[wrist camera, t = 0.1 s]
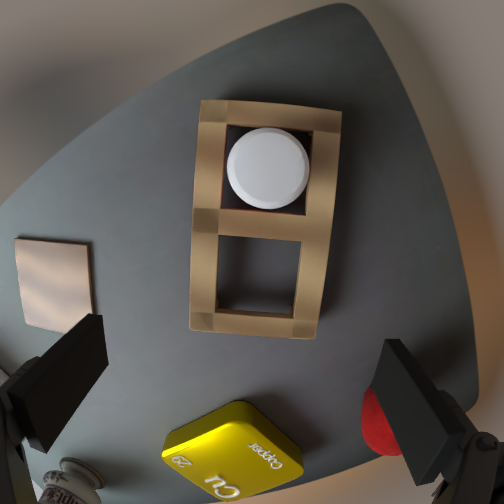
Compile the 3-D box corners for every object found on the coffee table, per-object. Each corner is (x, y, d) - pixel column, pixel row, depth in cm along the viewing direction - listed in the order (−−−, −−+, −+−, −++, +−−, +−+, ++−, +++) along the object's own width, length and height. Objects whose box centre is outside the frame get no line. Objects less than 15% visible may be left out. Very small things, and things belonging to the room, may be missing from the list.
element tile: (306, 452, 40) (310, 476, 35) (227, 484, 42) (225, 506, 38) (242, 394, 37) (241, 419, 32) (161, 435, 40) (153, 458, 35)
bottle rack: (207, 106, 30) (201, 99, 26) (333, 117, 30) (342, 111, 26) (195, 315, 35) (189, 329, 31) (310, 324, 35) (315, 339, 31)
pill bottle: (226, 149, 31) (209, 136, 20) (286, 131, 30) (300, 109, 19) (245, 208, 32) (238, 226, 21) (304, 190, 31) (328, 199, 21)
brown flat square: (16, 237, 33) (13, 238, 33) (89, 244, 33) (87, 245, 33) (27, 322, 36) (25, 324, 35) (97, 338, 36) (95, 340, 35)
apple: (393, 342, 35) (430, 395, 25) (429, 378, 37) (465, 427, 26) (335, 395, 37) (353, 456, 26) (376, 423, 38) (398, 478, 28)
